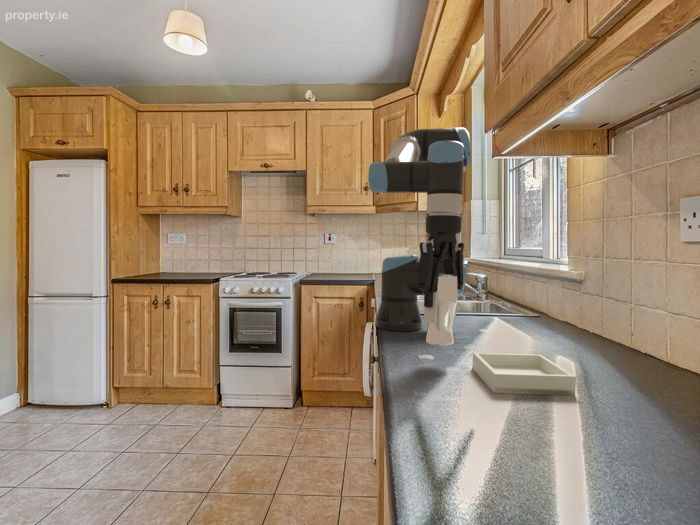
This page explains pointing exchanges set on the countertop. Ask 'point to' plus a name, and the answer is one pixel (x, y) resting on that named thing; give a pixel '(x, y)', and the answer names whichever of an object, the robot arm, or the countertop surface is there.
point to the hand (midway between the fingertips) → (440, 319)
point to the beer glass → (444, 311)
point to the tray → (523, 374)
